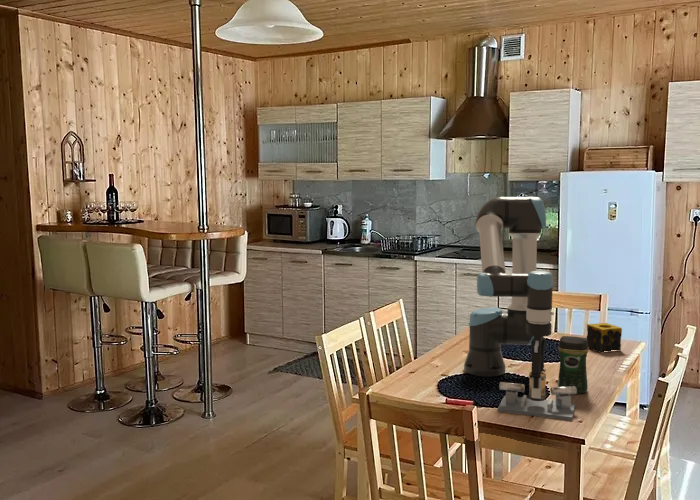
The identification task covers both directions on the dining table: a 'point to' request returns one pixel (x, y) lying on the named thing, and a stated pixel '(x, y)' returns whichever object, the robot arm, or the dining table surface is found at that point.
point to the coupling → (543, 378)
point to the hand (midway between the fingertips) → (537, 394)
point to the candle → (604, 337)
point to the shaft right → (563, 396)
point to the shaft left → (511, 391)
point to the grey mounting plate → (537, 408)
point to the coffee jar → (573, 363)
